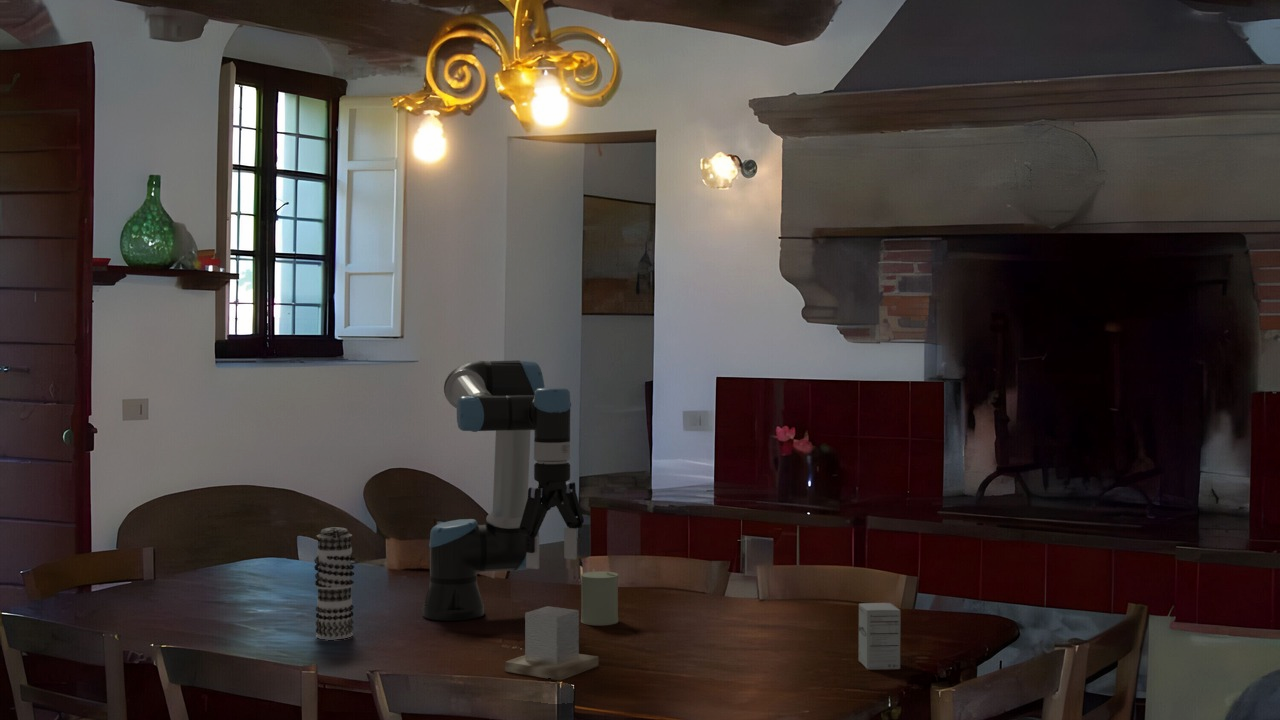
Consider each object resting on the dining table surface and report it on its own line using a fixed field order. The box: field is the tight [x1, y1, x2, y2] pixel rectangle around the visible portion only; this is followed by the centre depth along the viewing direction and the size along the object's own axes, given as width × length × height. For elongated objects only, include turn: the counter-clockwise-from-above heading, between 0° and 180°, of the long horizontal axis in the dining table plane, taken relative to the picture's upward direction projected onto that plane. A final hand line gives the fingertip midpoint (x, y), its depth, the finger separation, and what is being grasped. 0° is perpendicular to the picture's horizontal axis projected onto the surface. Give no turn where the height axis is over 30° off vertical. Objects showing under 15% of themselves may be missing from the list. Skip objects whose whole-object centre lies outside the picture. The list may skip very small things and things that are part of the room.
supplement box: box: [858, 602, 902, 671], centre depth 283 cm, size 7×7×13 cm
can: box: [580, 570, 619, 627], centre depth 326 cm, size 9×9×12 cm
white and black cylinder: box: [313, 526, 356, 639], centre depth 309 cm, size 9×9×25 cm
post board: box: [504, 653, 599, 682], centre depth 279 cm, size 14×14×9 cm
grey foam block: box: [524, 605, 580, 666], centre depth 279 cm, size 8×8×10 cm
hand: (552, 563), depth 279 cm, fingers open, 13 cm apart
